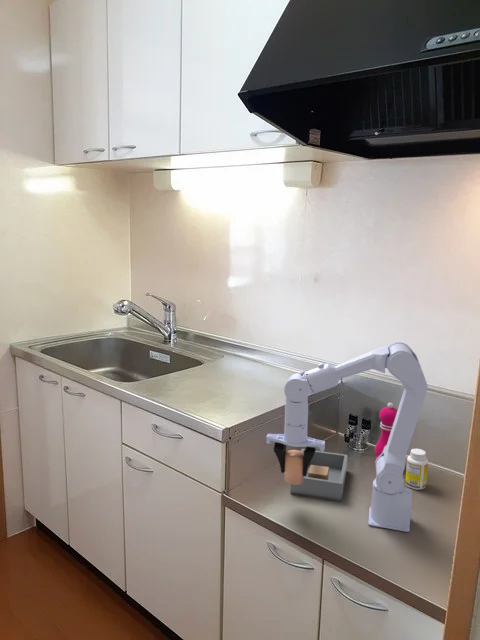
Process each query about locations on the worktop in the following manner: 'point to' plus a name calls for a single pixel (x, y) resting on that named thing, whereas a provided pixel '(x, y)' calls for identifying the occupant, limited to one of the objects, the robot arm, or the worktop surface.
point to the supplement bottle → (416, 469)
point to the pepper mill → (385, 427)
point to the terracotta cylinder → (294, 467)
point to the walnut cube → (318, 472)
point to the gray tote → (324, 487)
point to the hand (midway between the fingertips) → (294, 472)
